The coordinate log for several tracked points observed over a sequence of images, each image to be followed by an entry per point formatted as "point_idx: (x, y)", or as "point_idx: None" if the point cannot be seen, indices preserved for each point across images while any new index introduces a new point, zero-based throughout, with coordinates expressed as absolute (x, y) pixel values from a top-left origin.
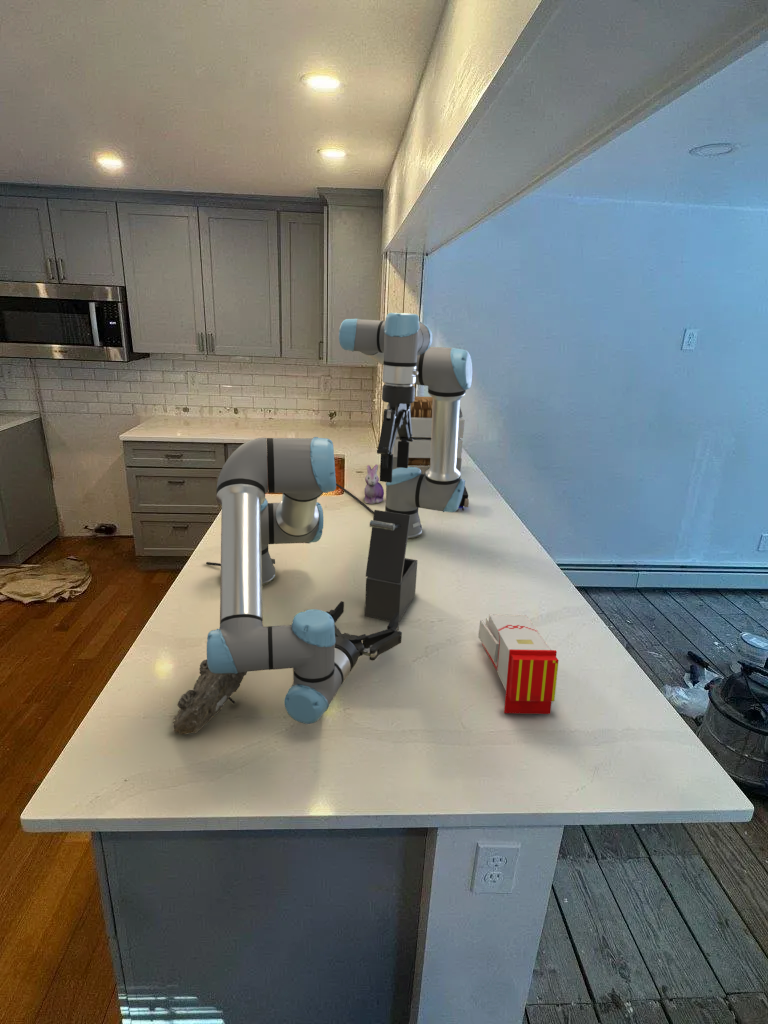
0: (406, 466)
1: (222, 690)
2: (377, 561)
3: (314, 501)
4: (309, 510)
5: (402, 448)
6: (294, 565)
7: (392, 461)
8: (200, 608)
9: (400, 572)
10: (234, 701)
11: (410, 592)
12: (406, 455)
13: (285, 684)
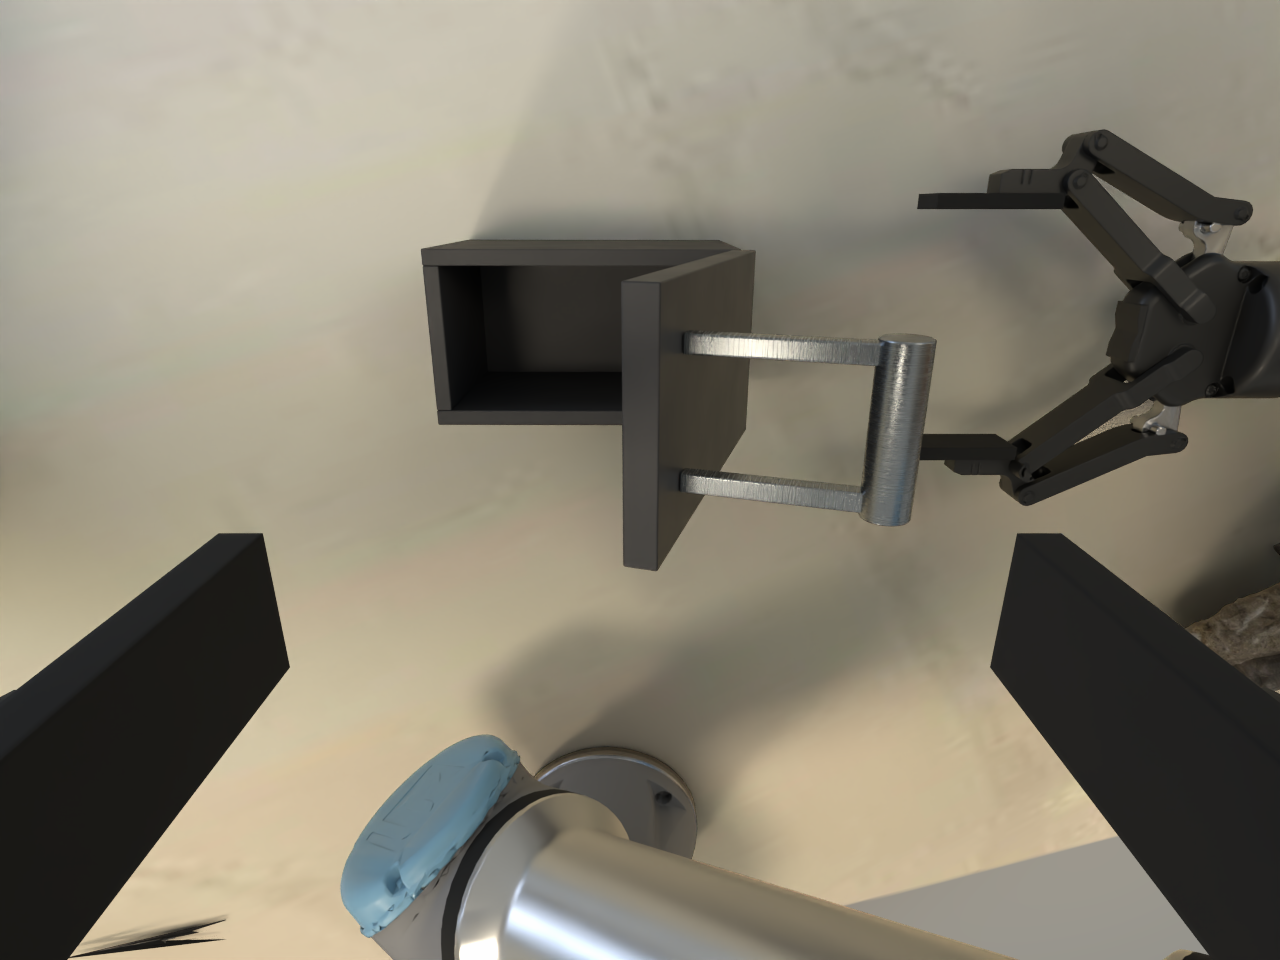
0: (253, 553)
1: None
2: (733, 401)
3: (896, 931)
4: (803, 894)
5: (75, 831)
6: (456, 737)
7: (1264, 725)
8: (837, 834)
9: (746, 261)
10: (1277, 548)
11: (549, 242)
12: (147, 662)
13: (1165, 462)
